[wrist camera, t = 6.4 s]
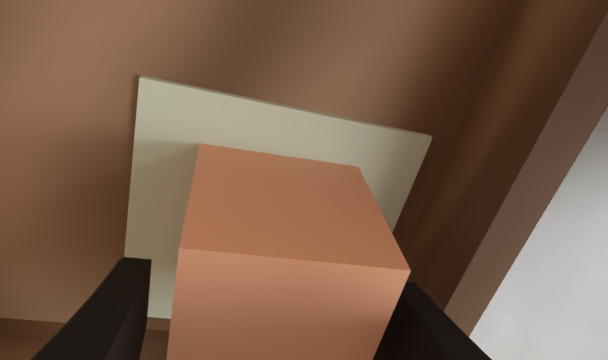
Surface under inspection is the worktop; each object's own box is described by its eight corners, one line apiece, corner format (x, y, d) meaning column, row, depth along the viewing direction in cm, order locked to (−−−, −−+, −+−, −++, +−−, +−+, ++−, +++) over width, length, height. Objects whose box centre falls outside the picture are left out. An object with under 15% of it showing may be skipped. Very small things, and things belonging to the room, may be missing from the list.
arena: (573, -77, 11) (720, -82, 8) (373, 348, 18) (403, 444, 15) (-181, -350, 8) (-537, -593, 4) (-64, 314, 15) (-158, 430, 11)
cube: (358, 166, 13) (410, 270, 9) (320, 284, 15) (350, 410, 11) (199, 143, 12) (178, 247, 8) (183, 272, 14) (160, 407, 10)
